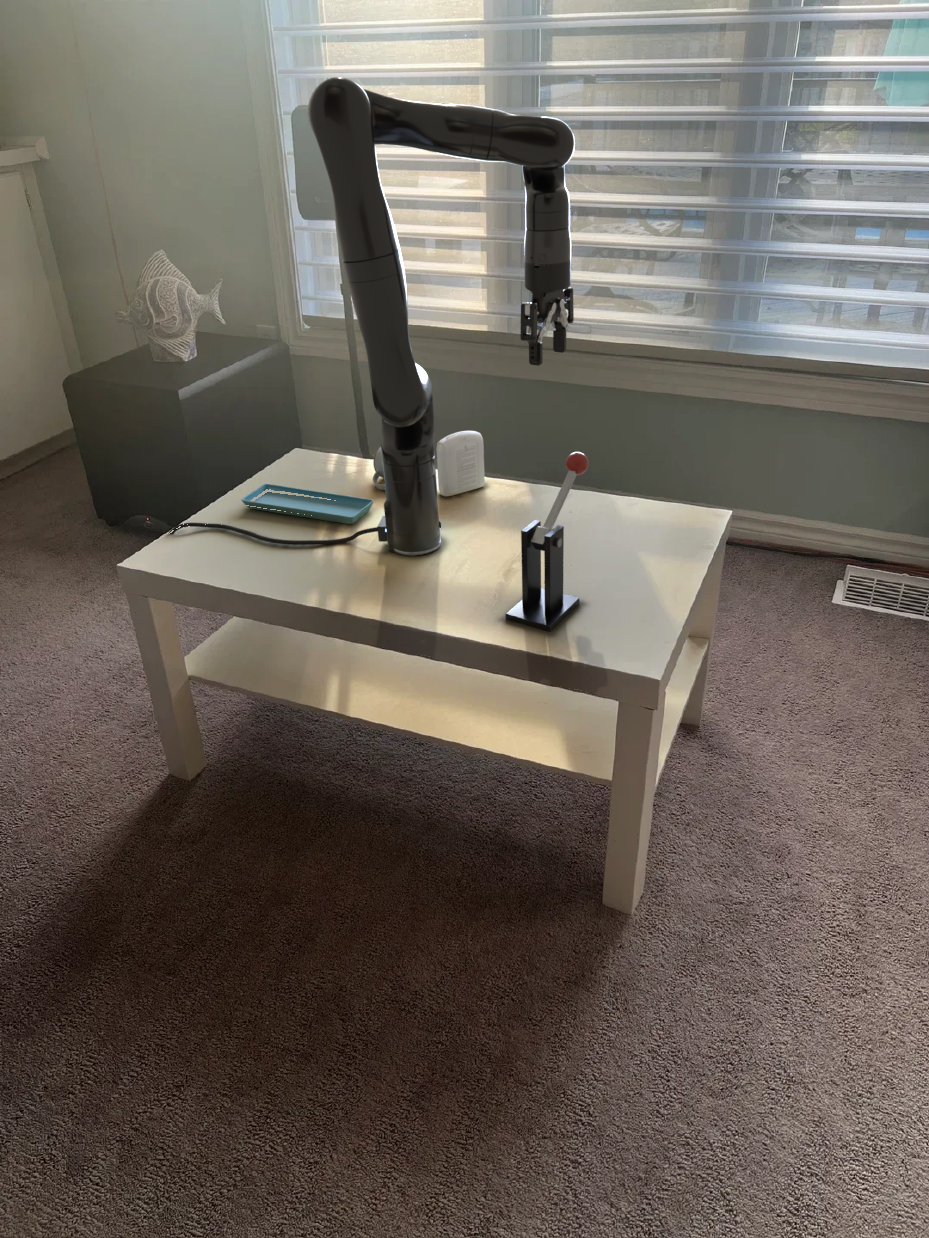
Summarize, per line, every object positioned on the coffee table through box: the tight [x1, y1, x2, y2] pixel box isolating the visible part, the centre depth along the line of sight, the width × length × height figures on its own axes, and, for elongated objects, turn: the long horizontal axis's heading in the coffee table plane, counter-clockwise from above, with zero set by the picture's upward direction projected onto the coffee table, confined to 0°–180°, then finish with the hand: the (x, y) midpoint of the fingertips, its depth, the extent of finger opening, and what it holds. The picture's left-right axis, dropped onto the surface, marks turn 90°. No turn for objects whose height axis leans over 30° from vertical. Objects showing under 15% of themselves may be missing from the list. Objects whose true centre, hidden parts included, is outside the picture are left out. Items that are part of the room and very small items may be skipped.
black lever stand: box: [505, 519, 580, 633], centre depth 143 cm, size 10×8×15 cm
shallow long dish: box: [240, 483, 375, 525], centre depth 185 cm, size 26×9×2 cm, turn 67°
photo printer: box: [435, 430, 486, 497], centre depth 188 cm, size 10×4×12 cm, turn 123°
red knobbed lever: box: [531, 451, 590, 552], centre depth 142 cm, size 17×4×4 cm
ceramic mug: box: [372, 446, 386, 491], centre depth 195 cm, size 11×8×8 cm
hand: (547, 358), depth 157 cm, fingers open, 8 cm apart
